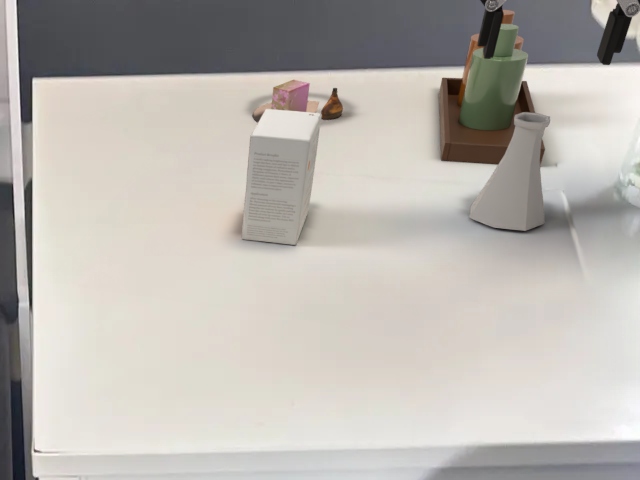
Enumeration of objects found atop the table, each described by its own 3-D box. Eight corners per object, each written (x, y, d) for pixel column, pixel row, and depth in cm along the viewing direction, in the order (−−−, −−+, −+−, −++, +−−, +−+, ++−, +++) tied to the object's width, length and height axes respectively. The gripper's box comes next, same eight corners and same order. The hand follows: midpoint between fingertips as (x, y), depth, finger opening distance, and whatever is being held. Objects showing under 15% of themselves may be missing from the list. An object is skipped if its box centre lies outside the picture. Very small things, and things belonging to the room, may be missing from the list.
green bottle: (509, 115, 117) (533, 20, 111) (512, 132, 113) (537, 33, 106) (457, 113, 119) (477, 19, 112) (458, 129, 114) (480, 32, 108)
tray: (521, 101, 123) (526, 80, 122) (538, 172, 104) (545, 148, 103) (438, 97, 126) (442, 77, 124) (440, 165, 107) (444, 142, 106)
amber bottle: (505, 98, 123) (528, 6, 116) (508, 113, 118) (532, 18, 112) (456, 96, 124) (475, 5, 118) (457, 110, 120) (477, 17, 113)
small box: (255, 208, 100) (264, 107, 94) (309, 214, 98) (323, 111, 92) (239, 240, 94) (248, 134, 88) (296, 246, 92) (310, 139, 86)
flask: (456, 221, 95) (479, 121, 89) (483, 197, 99) (507, 100, 93) (531, 239, 91) (560, 135, 85) (555, 213, 96) (585, 113, 90)
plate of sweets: (311, 138, 116) (316, 100, 113) (233, 117, 123) (236, 82, 120) (366, 113, 122) (372, 77, 119) (289, 95, 129) (293, 61, 127)
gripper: (492, -161, 75) (443, 64, 86) (742, -163, 71) (658, 75, 81) (487, -169, 81) (442, 42, 91) (718, -171, 76) (643, 52, 87)
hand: (544, 58), depth 86 cm, fingers open, 9 cm apart
